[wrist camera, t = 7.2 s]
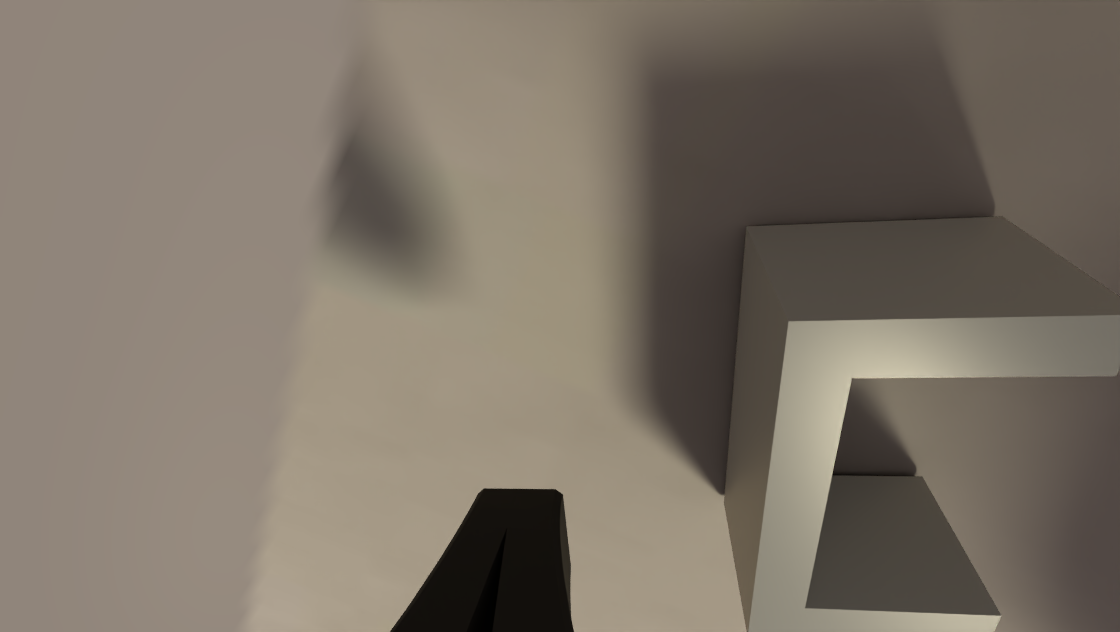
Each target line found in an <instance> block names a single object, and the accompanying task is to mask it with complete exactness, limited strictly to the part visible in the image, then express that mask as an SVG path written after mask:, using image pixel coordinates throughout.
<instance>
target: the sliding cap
mask: <svg viewBox="0 0 1120 632" xmlns="http://www.w3.org/2000/svg"><path fill="white" fill-rule="evenodd" d="M1119 369H1120V297H1119V296H1118V295H1116V294H1115V293H1113V292H1112V291H1110V290H1109V289H1108V288H1106V287H1105V286H1103V285H1102V284H1100V283H1099V282H1097V281H1096V280H1094V279H1093V278H1091V277H1090V276H1089V275H1087V274H1086V273H1084V272H1083V271H1081V270H1080V269H1078V268H1077V267H1075V266H1074V265H1072V264H1071V263H1070V262H1068V261H1067V260H1065V259H1064V258H1062V257H1061V256H1059V255H1058V254H1056V253H1055V252H1054V251H1052V250H1051V249H1049V248H1048V247H1046V246H1045V245H1043V244H1042V243H1040V242H1039V241H1037V240H1036V239H1035V238H1033V237H1032V236H1030V235H1029V234H1027V233H1026V232H1024V231H1023V230H1021V229H1020V228H1018V227H1017V226H1016V225H1014V224H1013V223H1011V222H1010V221H1008V220H1007V219H1005V218H1004V217H977V218H951V219H925V220H899V221H873V222H847V223H821V224H795V225H768V226H746V237H745V249H744V262H743V274H742V286H741V299H740V311H739V323H738V336H737V348H736V361H735V373H734V385H733V398H732V410H731V423H730V435H729V447H728V460H727V472H726V484H725V497H724V506H725V511H726V517H727V523H728V528H729V534H730V540H731V545H732V551H733V556H734V562H735V568H736V573H737V579H738V585H739V590H740V596H741V602H742V607H743V613H744V619H745V624H746V630H747V632H994V630H995V628H996V626H997V624H998V622H999V620H1000V618H1001V614H1000V612H999V611H998V609H997V607H996V605H995V604H994V602H993V600H992V598H991V597H990V595H989V593H988V591H987V590H986V588H985V586H984V584H983V583H982V581H981V579H980V577H979V575H978V574H977V572H976V570H975V568H974V567H973V565H972V563H971V561H970V560H969V558H968V556H967V554H966V553H965V551H964V549H963V547H962V546H961V544H960V542H959V540H958V539H957V537H956V535H955V533H954V532H953V530H952V528H951V526H950V525H949V523H948V521H947V519H946V518H945V516H944V514H943V512H942V511H941V509H940V507H939V505H938V504H937V502H936V500H935V498H934V496H933V495H932V493H931V491H930V489H929V488H928V486H927V484H926V482H925V481H924V479H923V477H914V476H832V473H833V468H834V463H835V459H836V454H837V449H838V444H839V439H840V434H841V429H842V424H843V419H844V414H845V409H846V405H847V400H848V395H849V390H850V385H851V380H852V378H963V377H1098V376H1117V373H1118V371H1119Z"/></svg>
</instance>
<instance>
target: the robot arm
mask: <svg viewBox="0 0 1120 632" xmlns="http://www.w3.org/2000/svg"><path fill="white" fill-rule="evenodd" d="M570 575H571V563H570V554H569V545H568V537H567V528H566V519H565V510H564V501H563V494H561V493H560V492H559V491H557V490H556V489H483V490H482V491H481V492H480V493H478V495H477V497H476V499H475V501H474V503H473V504H472V506H471V508H470V510H469V511H468V513H467V515H466V517H465V518H464V520H463V522H462V524H461V525H460V527H459V529H458V530H457V532H456V534H455V535H454V537H453V539H452V540H451V542H450V543H449V545H448V547H447V548H446V550H445V551H444V553H443V555H442V556H441V558H440V559H439V561H438V563H437V564H436V566H435V567H434V569H433V570H432V572H431V573H430V575H429V576H428V578H427V579H426V581H425V582H424V584H423V585H422V587H421V588H420V590H419V591H418V593H417V594H416V596H415V597H414V599H413V600H412V602H411V603H410V605H409V606H408V607H407V609H406V610H405V612H404V613H403V615H402V616H401V617H400V619H399V620H398V621H397V623H396V624H395V625H394V627H393V628H392V630H391V631H390V632H574V630H573V625H572V620H571V603H570Z"/></svg>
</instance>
